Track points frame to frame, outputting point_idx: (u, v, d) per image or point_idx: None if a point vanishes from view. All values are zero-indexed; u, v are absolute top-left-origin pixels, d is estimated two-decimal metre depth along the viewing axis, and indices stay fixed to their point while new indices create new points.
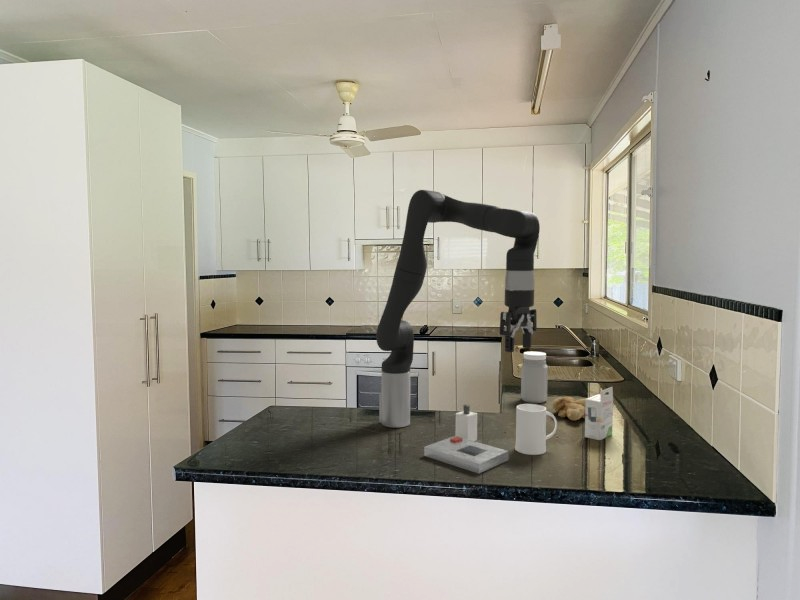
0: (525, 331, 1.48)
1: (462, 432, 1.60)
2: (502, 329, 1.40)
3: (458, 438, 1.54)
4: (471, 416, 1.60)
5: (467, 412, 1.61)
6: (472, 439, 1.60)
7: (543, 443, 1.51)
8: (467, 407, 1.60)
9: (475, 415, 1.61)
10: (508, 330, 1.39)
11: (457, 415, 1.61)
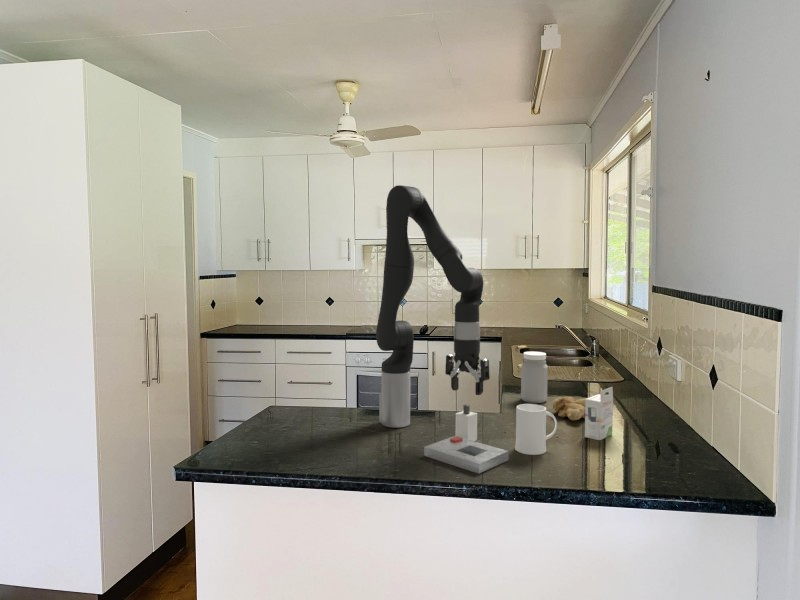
0: (454, 375, 1.63)
1: (462, 432, 1.60)
2: None
3: (458, 438, 1.54)
4: (471, 416, 1.60)
5: (467, 412, 1.61)
6: (472, 439, 1.60)
7: (543, 443, 1.51)
8: (467, 407, 1.60)
9: (475, 415, 1.61)
10: None
11: (457, 415, 1.61)
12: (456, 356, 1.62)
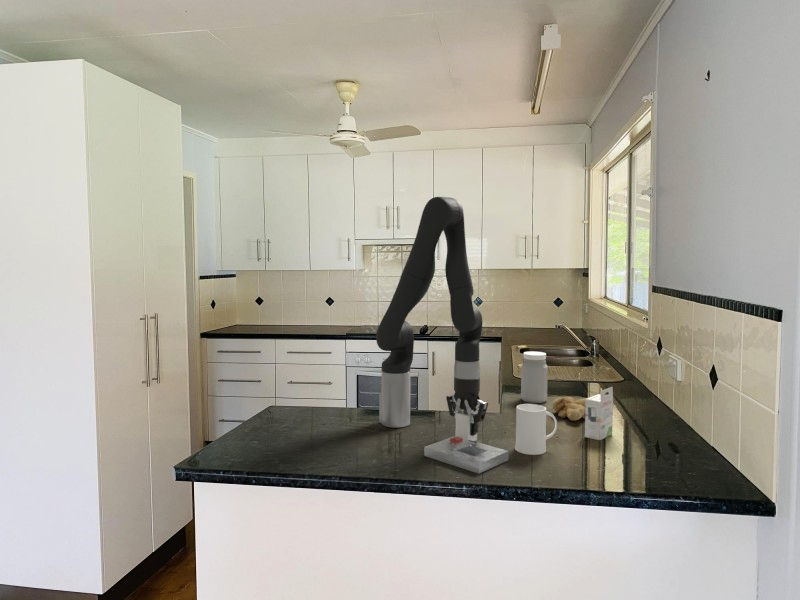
0: None
1: (462, 432, 1.60)
2: None
3: (458, 438, 1.54)
4: None
5: None
6: (472, 439, 1.60)
7: (543, 443, 1.51)
8: None
9: None
10: None
11: (457, 415, 1.61)
12: (455, 394, 1.63)
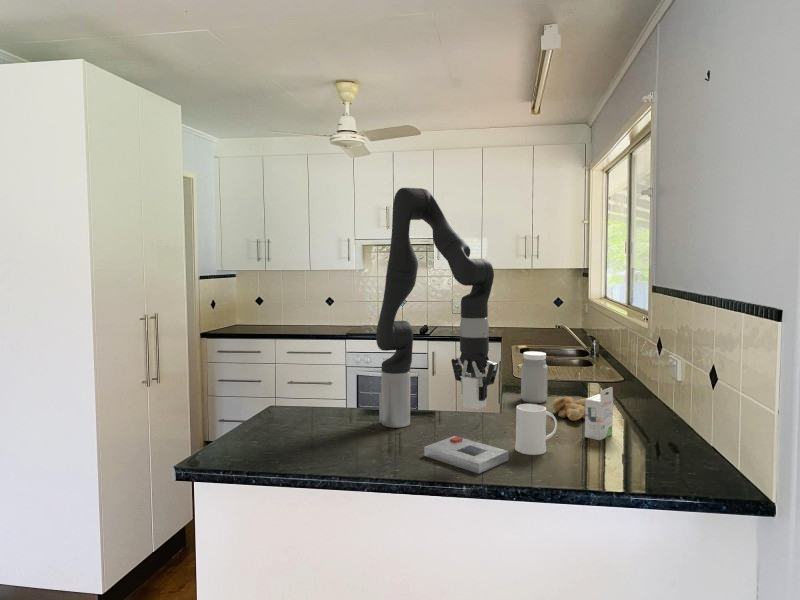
0: None
1: (470, 398, 1.44)
2: None
3: (458, 438, 1.54)
4: None
5: (475, 375, 1.45)
6: (481, 405, 1.45)
7: (543, 443, 1.51)
8: None
9: None
10: None
11: (464, 379, 1.46)
12: (461, 356, 1.47)
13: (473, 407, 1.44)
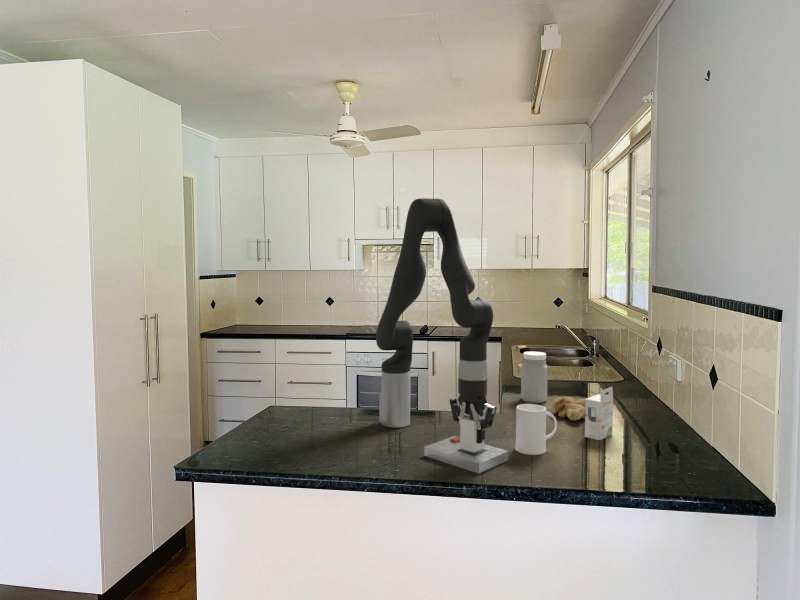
0: None
1: (468, 440, 1.43)
2: None
3: (458, 438, 1.54)
4: None
5: None
6: (479, 447, 1.44)
7: (543, 443, 1.51)
8: None
9: None
10: None
11: (462, 420, 1.45)
12: (460, 397, 1.46)
13: (471, 450, 1.43)
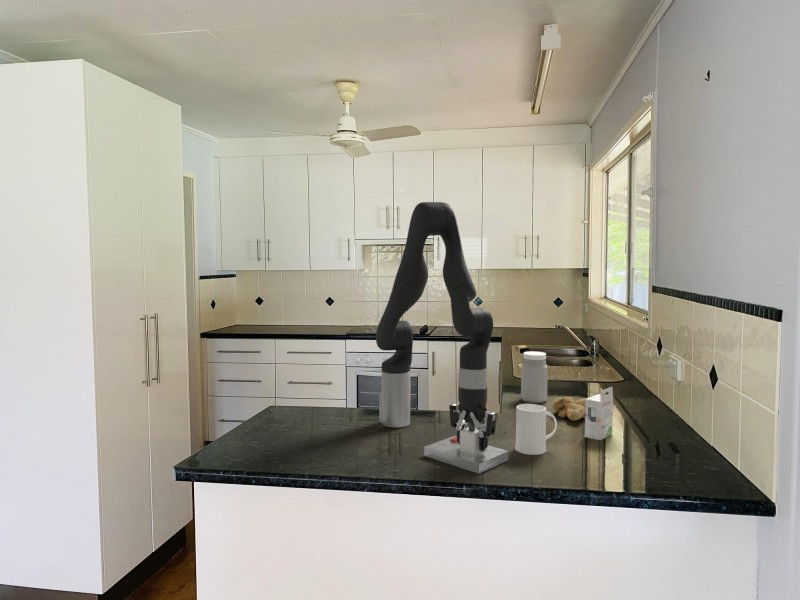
0: (461, 428, 1.47)
1: (468, 452, 1.44)
2: None
3: None
4: (477, 434, 1.43)
5: (473, 429, 1.44)
6: None
7: (543, 443, 1.51)
8: None
9: None
10: None
11: (461, 432, 1.45)
12: (460, 405, 1.46)
13: None
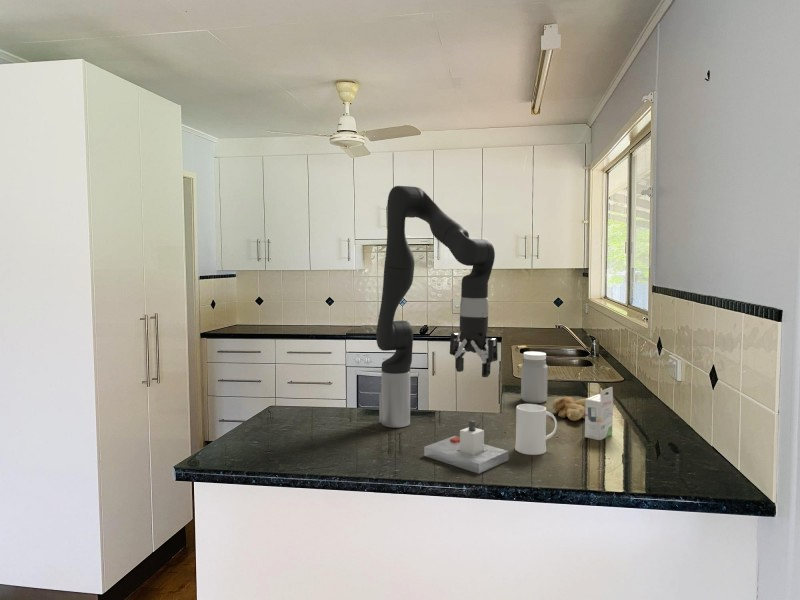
0: (459, 355, 1.51)
1: (468, 452, 1.44)
2: None
3: (458, 438, 1.54)
4: (477, 434, 1.43)
5: (473, 429, 1.44)
6: None
7: (543, 443, 1.51)
8: (473, 423, 1.44)
9: (482, 432, 1.45)
10: None
11: (462, 432, 1.45)
12: (462, 335, 1.49)
13: None
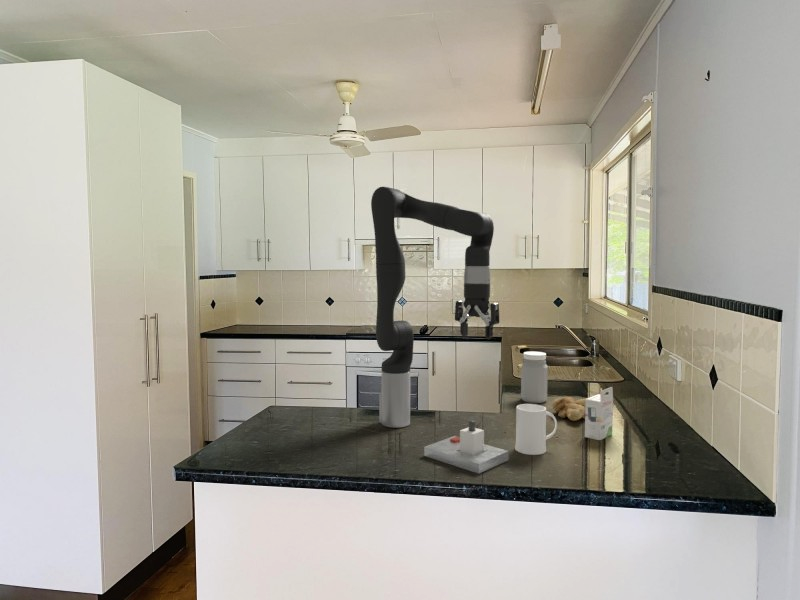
0: (464, 321, 1.64)
1: (468, 452, 1.44)
2: None
3: (458, 438, 1.54)
4: (477, 434, 1.43)
5: (473, 429, 1.44)
6: None
7: (543, 443, 1.51)
8: (473, 423, 1.44)
9: (482, 432, 1.45)
10: None
11: (462, 432, 1.45)
12: (466, 301, 1.62)
13: None
